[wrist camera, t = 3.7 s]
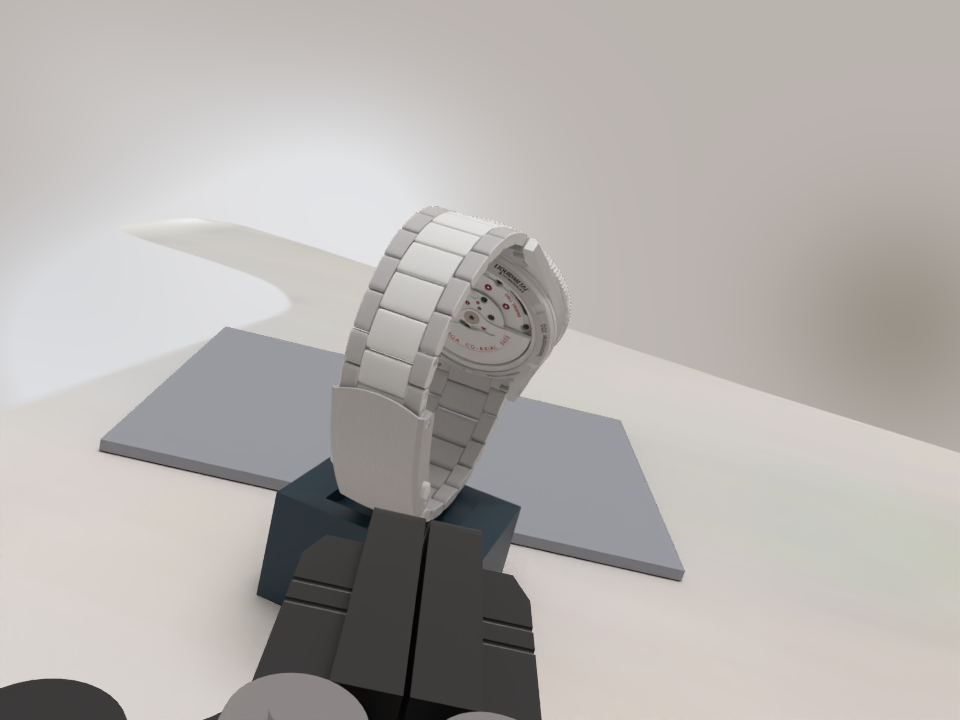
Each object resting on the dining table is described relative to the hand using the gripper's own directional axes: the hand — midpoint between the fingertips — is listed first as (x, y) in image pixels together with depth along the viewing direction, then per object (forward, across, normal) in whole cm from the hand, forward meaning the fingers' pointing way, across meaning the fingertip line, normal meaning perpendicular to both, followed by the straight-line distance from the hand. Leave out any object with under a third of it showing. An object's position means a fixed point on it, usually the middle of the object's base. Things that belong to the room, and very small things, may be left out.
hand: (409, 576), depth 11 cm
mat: (+22, 0, +8) cm, 24 cm away
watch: (+11, 0, +8) cm, 13 cm away
